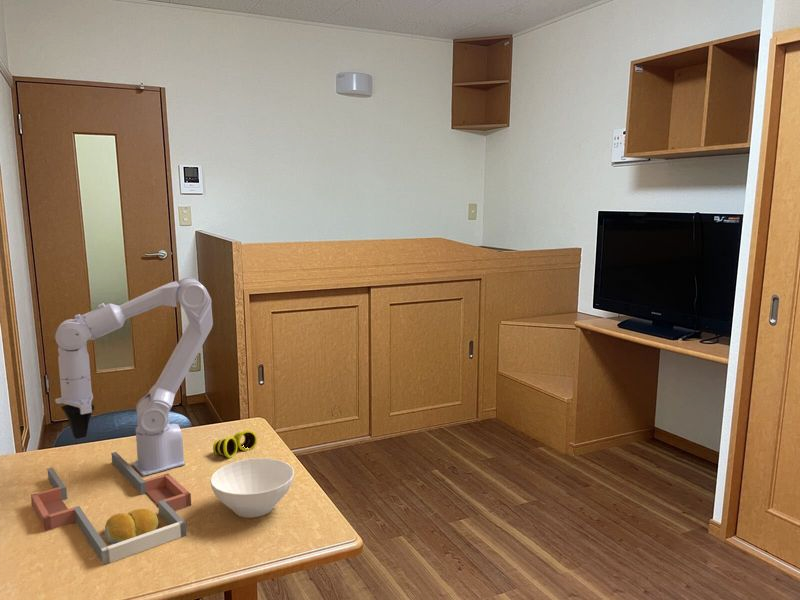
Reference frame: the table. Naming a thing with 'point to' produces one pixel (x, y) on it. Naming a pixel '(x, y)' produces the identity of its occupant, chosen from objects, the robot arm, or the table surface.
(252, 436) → the opera glasses
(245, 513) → the bowl
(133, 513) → the bread roll
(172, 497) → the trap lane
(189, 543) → the table surface
